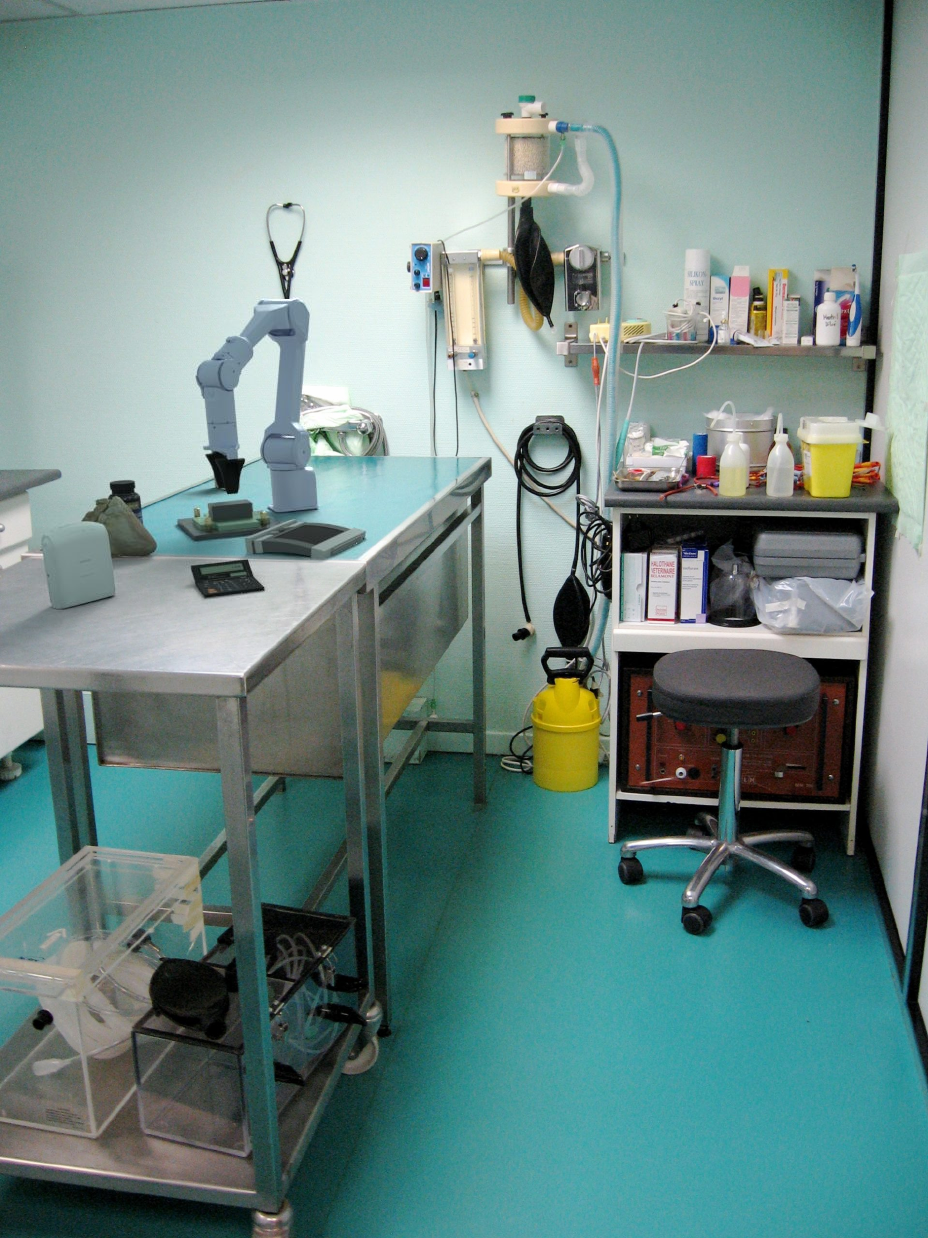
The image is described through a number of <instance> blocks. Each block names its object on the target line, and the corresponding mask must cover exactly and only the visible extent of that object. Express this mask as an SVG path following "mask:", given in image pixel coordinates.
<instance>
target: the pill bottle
mask: <svg viewBox="0 0 928 1238" xmlns="http://www.w3.org/2000/svg"><path fill="white" fill-rule="evenodd" d="M135 489H136V481H135V480H131V479H124V480H123V479H122V480H114V481H113V480H112V481H111V482H109V490H111V493H110V494H109V495H108V496H107V499H109V500H112V498H113V497H115V496H118V497H120V498H121V499H122V500H123V502H124V503H125V504H126V505H127V506H128V507H129V508H130V509H131V510H132V512H133V513H134V514H135V515H136V517H137V518H138V519H139V520H140V521H141V523H142V524H143V525H144V519H143V518H144V517H143V509H142V502H141V501H142V500H141V495H140V494H139V493H138V492H136V490H135Z"/></svg>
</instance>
